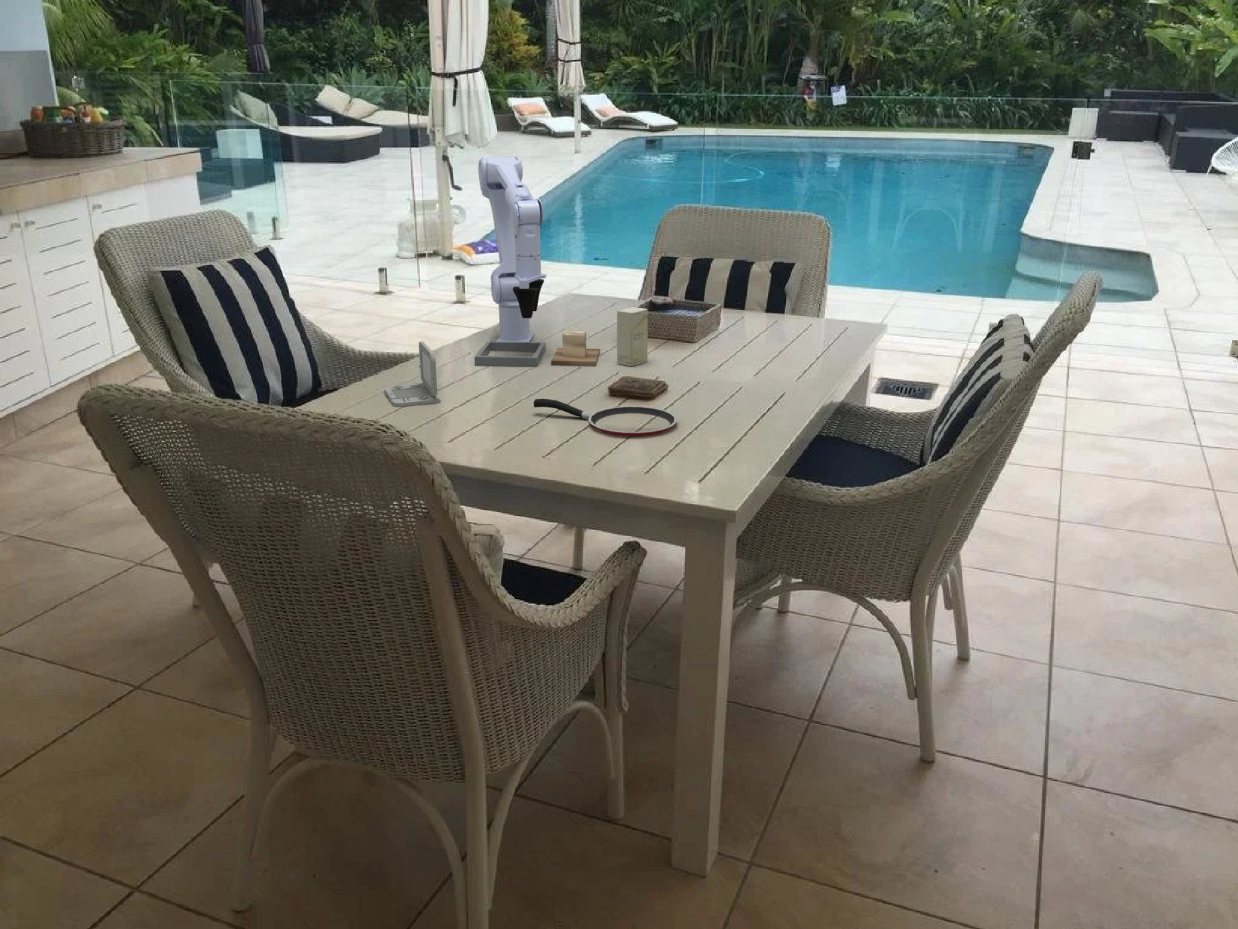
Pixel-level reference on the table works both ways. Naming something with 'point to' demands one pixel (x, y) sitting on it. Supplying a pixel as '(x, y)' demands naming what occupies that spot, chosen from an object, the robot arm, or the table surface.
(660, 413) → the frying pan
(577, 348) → the maple block
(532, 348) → the grey bin
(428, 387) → the handheld gaming console
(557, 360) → the walnut board
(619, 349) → the skincare box
